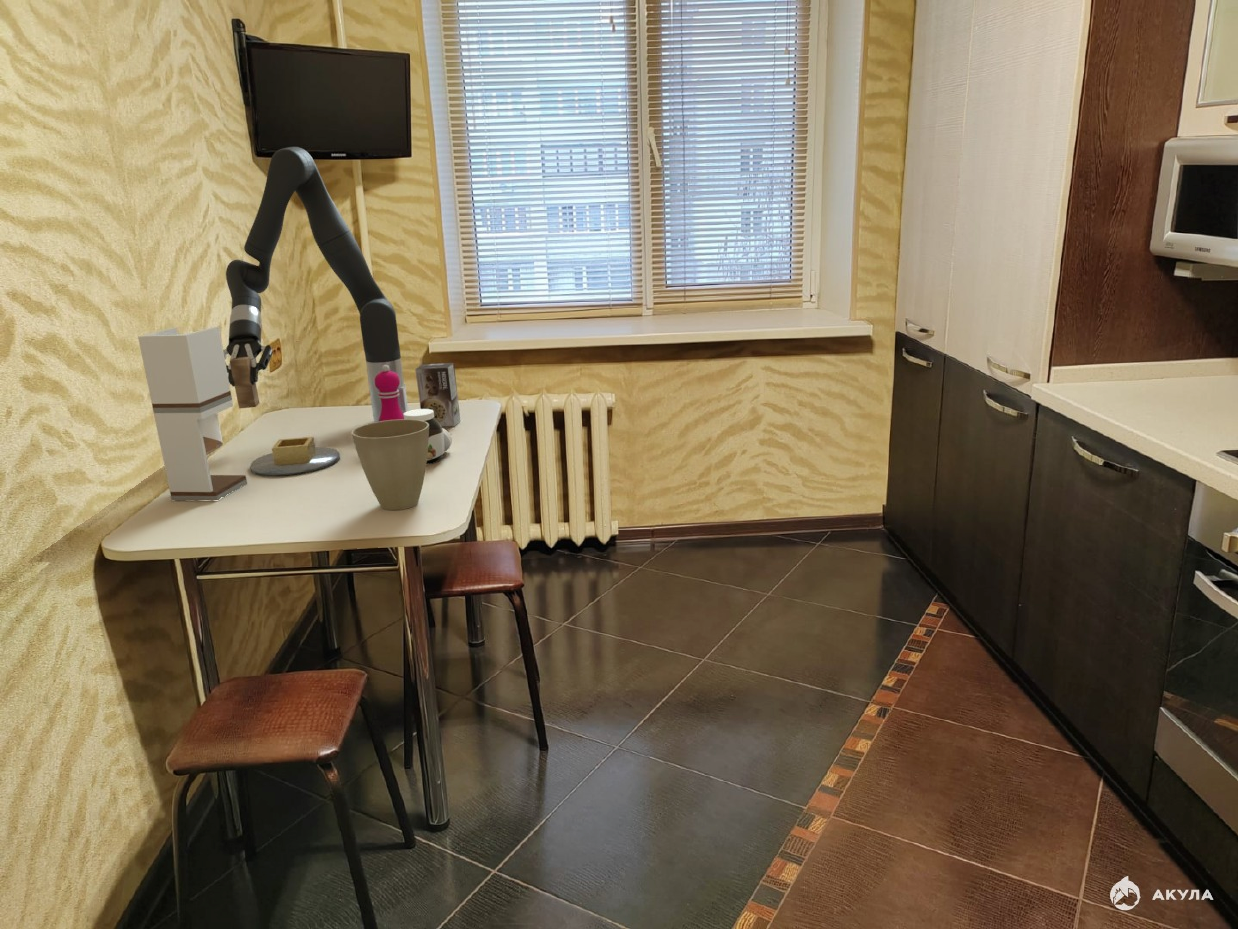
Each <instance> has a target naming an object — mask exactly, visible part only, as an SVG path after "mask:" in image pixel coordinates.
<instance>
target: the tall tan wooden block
mask: <svg viewBox="0 0 1238 929" xmlns="http://www.w3.org/2000/svg"><path fill="white" fill-rule="evenodd" d="M250 362H251V360H250V357H237V358H233V359H231V360H230V359H229V363H230V366H231V371H232V376H233V379H234V384H235V385H234V389H235V394H236V395H235V396H236V399H237V400H236V401H237V405H238V409H247V408H257V407H258V405H259V404H260V403H261V402H260V399H259V392H258V387H257V382H255V385H252V384H251V382H250V368H251V364H250Z"/></svg>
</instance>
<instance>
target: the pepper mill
mask: <svg viewBox="0 0 1238 929" xmlns="http://www.w3.org/2000/svg"><path fill="white" fill-rule="evenodd" d="M382 370H383V372H380V373H378V374H377V376H376V377H375V386H376V387H377V388H378V389H379V392H378V394H379V398H381V404H382V408H381V414H380V418H379V421H378V422H380V421H387V420H397V419H404V414H403V413H402V411H401V409H400V406H399V403H398V396H399V390H398V389H397V388H398V386H399V384H400V380H399V377H398V375H397V374H396V373H395V372H392V371H389V366H388V365H383V366H382Z"/></svg>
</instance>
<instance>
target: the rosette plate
mask: <svg viewBox="0 0 1238 929" xmlns="http://www.w3.org/2000/svg"><path fill="white" fill-rule="evenodd" d="M339 451H340V450H337V449H335V448H333V447H326V446H316V443H315V436H306V437H295V438H294V437H293V438H292V437H291V438H282V439H281V438H280V439H278V440H277V441H276V443H275V444H274V445H273V447H271V452H270V453H268V454H264V455H262V456H260V457H258V458H255V459H254V460H252V462H251V463H250V470H251V473H252V474H254V473H255V474H254V475H257V476H261V477H268V478H269V477H270V478H276V477H277V478H280V477H282V478H283V477H293V476H299V475H300V476H301V475H306V474H312V473H316V472H319V471H322V470H325V469H328V468H331V467H333V466H334V465H336V464H337V463H339V462H340V460H341V454H340V452H339ZM338 461H339V462H338ZM330 466H331V467H330Z"/></svg>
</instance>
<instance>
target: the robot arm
mask: <svg viewBox="0 0 1238 929" xmlns="http://www.w3.org/2000/svg"><path fill="white" fill-rule="evenodd" d="M265 181H266V182H265V186H264V189H263V194H262V199H261V200H260V204H259V208H258V210H257V213H256V215H255V218H254V221H253V223H252V226H251V228H250V230H249V233H248V236H247V238H246V239H245V240H246V241H245V243H244V248H243V250H244V252H245V253H246V254H247V255H248V256H250V258H252V259H255V260H256V261H257V262H258V263H259V264H257V265H256V264H253V263H251V262H248V261H245V260H242V259H233V260H232V261H230V262H229V263H228V265H227V266H226V271H225V279H226V283H227V287H228V289H229V294H230V298H231V312H230V317H229V326H228V327H229V330H228V344H227V346H226V348H224V349H223V352H224V357H225V360H227V357H228V355H229V356H230V358H229V361H230V360H231V359H233V358H237V357H250V360H251V362H250V364H251V368H250V382H251V384H252V385H255V382H256V383H257V382H258V381H259V372H260V370H263V371H264V370H266V369H267V368H268V365H269V363H270V361H271V359H272V356H273V354H274V350H273V348H272V346H271V345H270V344H266V345H262V328H263V324H262V298H261V296H260V294H263V293H264V292H265V291H266V290H267V289H268V288H269V285H270V284H269V283H270V274H271V265H272V259H273V255H274V253H275V250H276V248H277V245H278V242H279V240H280V237H281V234H282V231H283V226H284V219H285V213H286V211H287V207H288V205H289V202H290V200H291V198H292V196H293V195H294V193H295V192H296V195H297V196H298V197H299V199H300V201H301V203H302V205H303V207H304V209H305V211H306V215H307V218H308V223H309V227H310V230H311V233H312V237H313V239H314V241H315V244H316V245H317V247H318V249H319V251H320V252H321V255H322V256H323V257H324V259H325V261H326V262H327V264H328V266H329V267H330V269H332V271H333V273H334V274H335V275H336V276H337V277H338V279H339V280H340V281H341V282H342V284H343V285H344V286H345V287H346V289H347V290H348V292H349V294H350V296H351V298H352V300H353V302H354V304H355V306H356V308H357V311H358V313H359V323H360V332H361V338H362V345H363V346H362V347H363V352H364V356H365V365H366V373H367V379H368V387H369V394H370V402H371V410H372V416H373V423H374V422H378V421H379V418H380V414H381V408H382V404H381V398H379V394H378V392H379V389H378V388H377V387H376V386H375V377H376V376H377V374H378V373H380V372H383V370H382V366H383V365H388V366H389V371H392V372H395V373H396V374H397V375H398V377H399V380H400V384H399V386H398V388H397V389H398V390H399V396H398V403H399V406H400V409H401V411H402V413H403V414H404V413H405V412H407V411H409V407H408V396H407V389H406V384H405V382H404V375H403V374H404V372H403V367H402V365H403V364H402V363H403V362H402V356H401V348H400V347H401V346H400V342H399V340H400V339H399V332H398V331H399V330H398V324H397V315H396V314H397V313H396V311H395V308H394V306H393V305H392V304H391V302H390V301H389V300H388V298H387V296H385V294H384V292H383V291H382V290H381V288H380V287H379V285H378V284H377V282H376V280H375V278H374V277H373V275H372V274H371V273H372V272H371V270H370V269H369V265H368V263H367V260H366V259H365V257H364V255H363V252H362V250H361V248H360V246H359V244H358V242H357V240H356V238H355V237H354V235H353V233H352V231H351V229H350V228H349V226H348V225H347V222H346V221H345V220H344V218H343V216H342V214H341V212H340V210H339V209H338V207H337V205H336V204H335V202H334V201H333V199H332V197H331V195H330V194H329V191H328V190H327V188H326V185H325V182H324V180H323V178H322V176H321V174H320V171H319V169H318V166H317V165H316V162H315V161H314V159H313V157H312V156H311V154H310V153H309V152H308V151H307V150H305V149H304V148H302V147H299V146H289V147H284V148H280V149H278V150H277V151H275V152H274V153H273V155H272V156H271V158H270V162H269V165H268V170H267V176H266V180H265ZM260 354H261V356H260V358H259V361H258V362H257V357H258V356H259V355H260ZM225 363H226V368H227V374H228V380H229V385H231V386H232V387H233V388H235V386H234V385H235V384H234V379H233V376H232V371H231V366H230V362H229V364H228V365H227V362H226V361H225Z"/></svg>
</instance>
